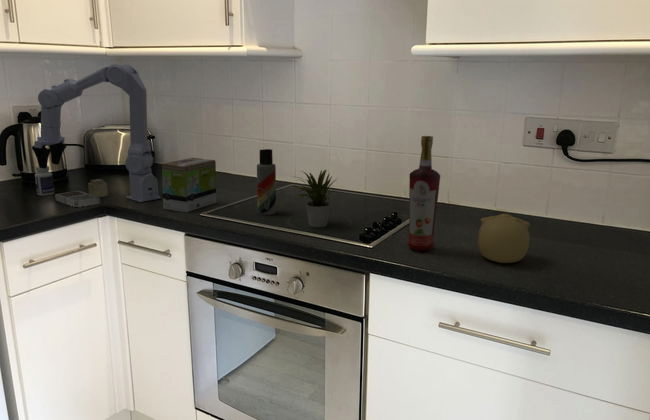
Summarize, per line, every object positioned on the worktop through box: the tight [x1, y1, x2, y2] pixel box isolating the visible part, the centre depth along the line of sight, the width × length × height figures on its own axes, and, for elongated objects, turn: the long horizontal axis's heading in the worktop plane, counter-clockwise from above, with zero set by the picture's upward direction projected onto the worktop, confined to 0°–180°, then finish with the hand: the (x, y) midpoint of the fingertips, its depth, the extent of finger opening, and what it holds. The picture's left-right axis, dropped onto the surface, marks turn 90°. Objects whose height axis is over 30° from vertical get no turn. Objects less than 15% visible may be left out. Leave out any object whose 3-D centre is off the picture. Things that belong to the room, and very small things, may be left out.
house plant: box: [291, 169, 338, 228], centre depth 151 cm, size 14×14×16 cm
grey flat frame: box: [54, 190, 101, 208], centre depth 174 cm, size 15×8×2 cm, turn 49°
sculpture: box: [477, 213, 531, 264], centre depth 124 cm, size 11×12×11 cm
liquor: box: [406, 135, 441, 253], centre depth 128 cm, size 7×7×28 cm
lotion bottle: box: [256, 148, 277, 216], centre depth 161 cm, size 6×6×20 cm
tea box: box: [161, 157, 217, 213], centre depth 169 cm, size 15×10×15 cm, turn 155°
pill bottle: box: [34, 165, 55, 197], centre depth 183 cm, size 5×5×10 cm
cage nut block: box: [87, 178, 109, 198], centre depth 182 cm, size 4×4×6 cm
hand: (49, 166), depth 179 cm, fingers open, 7 cm apart
